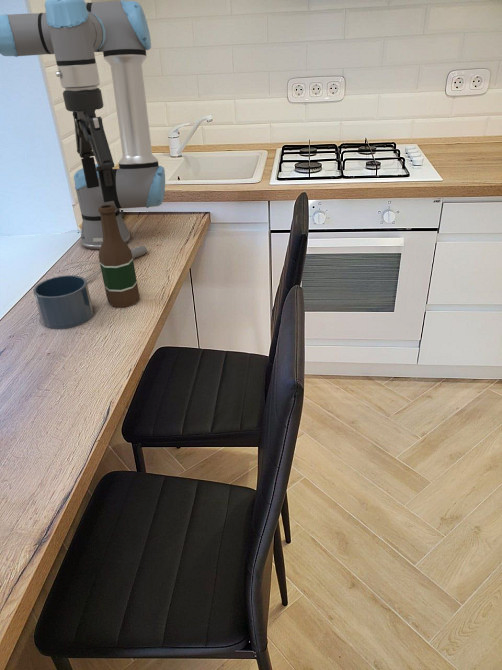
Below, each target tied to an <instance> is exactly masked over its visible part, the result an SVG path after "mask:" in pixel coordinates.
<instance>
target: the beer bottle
mask: <svg viewBox="0 0 502 670" xmlns="http://www.w3.org/2000/svg"><path fill="white" fill-rule="evenodd" d="M114 211H115V208H114V206H112V205H103V206H101V207H99V210H98V212H99V213H100V216H101V224H102V231H103V243H102V245H101V247H100V250H98V263H99V266H100V267H99V268H100V269H101V270H100V271H102V272H101V277H102V280H103V285H104V290H105V295H106V299H107V302H108V303H109V305H111V306H112V307H113V308H120V309H121V308H123V309H125V308H127V307H131V306H133V305H136V303H137V302H138V301H139V300H140V293H139V291H140V290H139V286H138V280H137V279H138V278H137V275H136V274H137V273H136V268H135V263H134V262H135V261H134V258H133V257H132V253H131V248H130V246H129V245H128V243H125V242H124V241H123V240H122V238H121V235H120V232H119V228H118V224H117V220H116V216H115V212H114Z"/></svg>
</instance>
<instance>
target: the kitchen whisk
mask: <svg viewBox="0 0 502 670" xmlns="http://www.w3.org/2000/svg"><path fill="white" fill-rule="evenodd" d="M147 246H148V247H147ZM150 248H151V246H150V245H149V244H144V245H139V246H137V247H133V248H130V250H131V253H132V257H133V259H136V258H139V257H141V256H144V255H145V254H147V253H148V251H149V250H150ZM77 263H78V264H77ZM79 263H80V261H76V262H72V263H67V264H64V265H62V266H61V267H59V268H58V269H57V270H56V271H55V272H54V274H53V275H52V277H51V278H54V277H56V274H58V273H59V272H60V273H59V274H58V276H61V274H62V273H64V272H65V271H68V270H69V269H73V268H77V267H82V266H84V265H85V266H89V265H90V264H91V265H95V264H97V261H91V260H85V261H82V263H80V264H79ZM83 263H84V264H83ZM72 264H76V265H73V266H70V267H67V268H65V269H64V268H63V267H65V266H68V265H72ZM62 268H63V269H62ZM97 268H100V269H99V270H97V271H95V272H94V273H92V274H90V275H89V276H87V277H84V279H86V281H87V283H89V282H90V281H92V280H93V279H94V278H96V277H98V275H99V274H100V273H101V274H102V271H101V267H100V265H97V266H96V267H92V268H89V269H87V270H83V271H82V272H78V273H76V274H74V276H80V275H82V274H84V273H87V272H89V271H92V270H96V269H97ZM60 269H62V270H60Z"/></svg>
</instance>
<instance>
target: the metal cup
mask: <svg viewBox="0 0 502 670" xmlns="http://www.w3.org/2000/svg"><path fill="white" fill-rule="evenodd" d="M86 280H87V278H86V279H85V277H83V276H80V275H76V276H75V274H68V275H58V276H55V277H54V276H53V278H52V277H50V278H47V279H45V280H42V281H41V282H39V283H38V284H37V285H36V284H35V286H34V288H33V291H32V292H33V296H34V300H35V303H36V306H37V311H38V315H39V317H40V320H41V323H42V324H43V326H45V327H46V328H49V329H55V330H62V329H63V330H64V329H69V328H74V327H78V326H80V325H82V324H84V323H86V322H87V321H89V320H90V319H91V318H92V316H93V315H94V307H93V304H92V299H91V294H90V289H89V286H88V285H89V284H88V280H87V281H86Z"/></svg>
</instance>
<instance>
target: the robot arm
mask: <svg viewBox="0 0 502 670" xmlns="http://www.w3.org/2000/svg"><path fill="white" fill-rule="evenodd" d="M44 9H45V12H35V13H33V12H32V13H13V14H6V13H4V14H0V55H2V56H3V57H16V58H18V57H27V56H42V55H54V57H55V63H56V66H57V71H55V76H56V77H58V78H59V82H60V86H61V88H63V89H65V90H63V92H62V97H63V101H64V102H63V103H64V106H65V109H66V111H68V112H72V117H73V122H74V123H73V124H74V133H75V134H74V135H75V143H76V152H77V154H79V157H80V158H81V159H80V161H81V165H82V168H81V169H78V170H77V171H76V172H75V173H74V175H73V181H74V190H75V193H76V196H77V202H78V206H79V210H80V215H81V219H82V222H81V223H82V224H81V230H80V231H81V232H80V244H81V246H82V247H83V248H85V249H88V250H93V251H94V250H95V251H96V250H97V251H99V250H100V247H101V245H102V243H103V231H102V224H101V216H100V213H99V212H98V210H99V207H101V206H103V205H112V206H114V208H115V211H114V212H115V216H116V220H117V224H118V228H119V232H120V235H121V238H122V240H123V241H124V242H125V243H126V244H128V243H129V242H130V240H131V233H130V230H129V228H128V227H127V224H126V223H125V221H124V218H125V213H124V209H136V208H138V209H139V208H146V209H149V208H154V207H160V206H161V205H162V204H163V203H164V199H165V194H166V170H165V168H164V166H162V165H159V159H158V158H156V156H154V155H153V149H152V142H151V141H152V140H151V133H150V131H151V130H150V123H149V115H148V106H147V96H146V87H145V80H144V79H145V78H144V71H143V70H144V69H143V64H144V62H145V60H146V59H147V51H149V50H151V48H152V42H151V35H150V30H149V25H148V22H147V17H146V15H145V12H144V9H143V7H142V5H141V4H140V3H139V2H138V1H136V0H107V1H93V2H86V1H85V0H45V1H44ZM95 53H102V55H103V59H104V61H105V62H106V63H108V65H109V66H110V73H111V79H112V87H113V93H114V101H115V109H116V117H117V123H118V124H117V125H118V130H119V138H120V145H121V154H122V157H121V158H120V160H119V161H118V168H115V162H114V159H113V155H112V152H111V149H110V146H109V142H108V138H107V135H106V132H105V129H104V124H103V123H104V122H103V118H102V116H97V114H96V110H101V109H103V108H104V100H103V93H102V90H101V89H100V88H99V86H100V85H101V81H100V75H99V70H98V69H99V68H98V65H97V64H98V63H97V61H96V55H95ZM121 209H123V210H121ZM120 210H121V211H120Z"/></svg>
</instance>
